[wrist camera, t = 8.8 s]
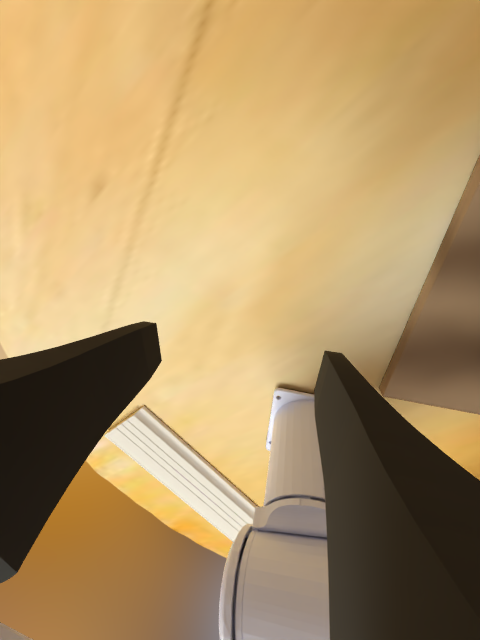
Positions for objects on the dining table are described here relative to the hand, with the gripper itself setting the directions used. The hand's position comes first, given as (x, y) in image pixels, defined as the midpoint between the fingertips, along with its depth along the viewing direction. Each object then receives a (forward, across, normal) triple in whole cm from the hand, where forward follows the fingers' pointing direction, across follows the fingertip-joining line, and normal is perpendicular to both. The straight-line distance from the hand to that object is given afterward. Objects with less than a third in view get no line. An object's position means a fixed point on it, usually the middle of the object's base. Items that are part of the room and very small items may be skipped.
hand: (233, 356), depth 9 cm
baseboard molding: (+11, +6, +32) cm, 34 cm away
